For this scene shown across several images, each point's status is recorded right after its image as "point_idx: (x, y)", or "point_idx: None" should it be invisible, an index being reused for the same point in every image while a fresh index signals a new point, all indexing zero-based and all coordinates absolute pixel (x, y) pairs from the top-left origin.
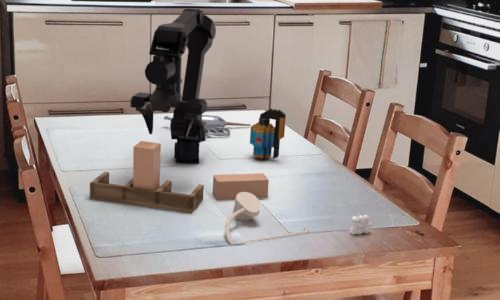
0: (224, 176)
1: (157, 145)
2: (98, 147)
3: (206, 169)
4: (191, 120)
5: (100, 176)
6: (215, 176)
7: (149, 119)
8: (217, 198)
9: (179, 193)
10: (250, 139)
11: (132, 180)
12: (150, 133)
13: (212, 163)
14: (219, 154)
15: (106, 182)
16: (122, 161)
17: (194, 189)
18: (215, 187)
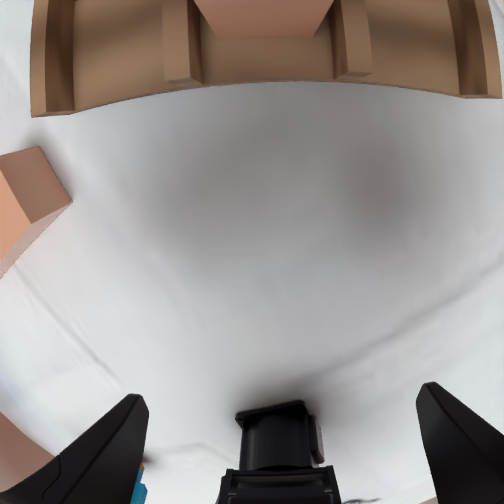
0: (1, 227)
1: None
2: (501, 389)
3: (194, 387)
4: (1, 493)
5: (489, 34)
6: (19, 210)
7: (483, 476)
8: (35, 148)
9: (144, 90)
10: (141, 492)
11: (354, 5)
12: (429, 386)
13: (203, 423)
14: (219, 462)
15: (464, 68)
16: (457, 347)
17: (44, 48)
18: (29, 175)
